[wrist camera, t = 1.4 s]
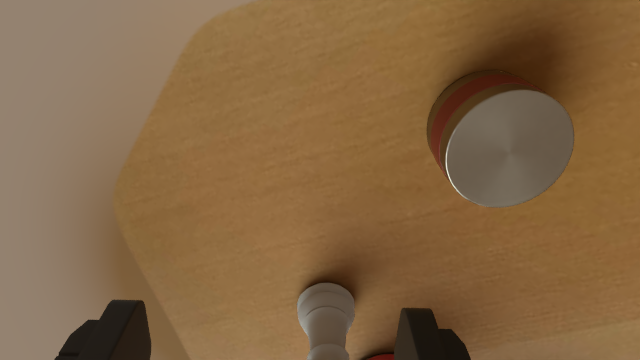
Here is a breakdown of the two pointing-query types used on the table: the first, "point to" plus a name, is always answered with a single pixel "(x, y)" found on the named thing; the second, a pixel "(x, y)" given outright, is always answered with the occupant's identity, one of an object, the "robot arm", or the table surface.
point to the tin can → (499, 138)
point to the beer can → (382, 357)
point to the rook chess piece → (326, 320)
